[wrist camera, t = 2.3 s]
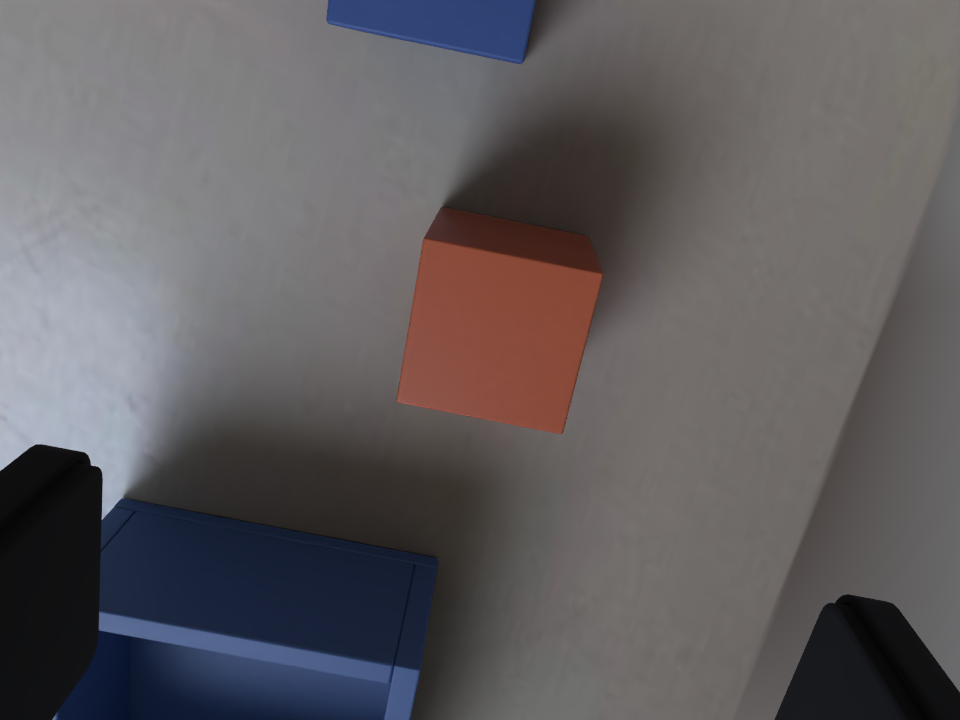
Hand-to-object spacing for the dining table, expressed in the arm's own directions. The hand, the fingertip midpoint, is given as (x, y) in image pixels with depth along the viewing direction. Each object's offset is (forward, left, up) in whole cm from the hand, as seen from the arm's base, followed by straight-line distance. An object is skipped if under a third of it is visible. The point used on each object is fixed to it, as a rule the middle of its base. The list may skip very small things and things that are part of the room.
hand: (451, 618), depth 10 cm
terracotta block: (0, 0, -16) cm, 16 cm away
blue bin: (+6, +16, -16) cm, 23 cm away
